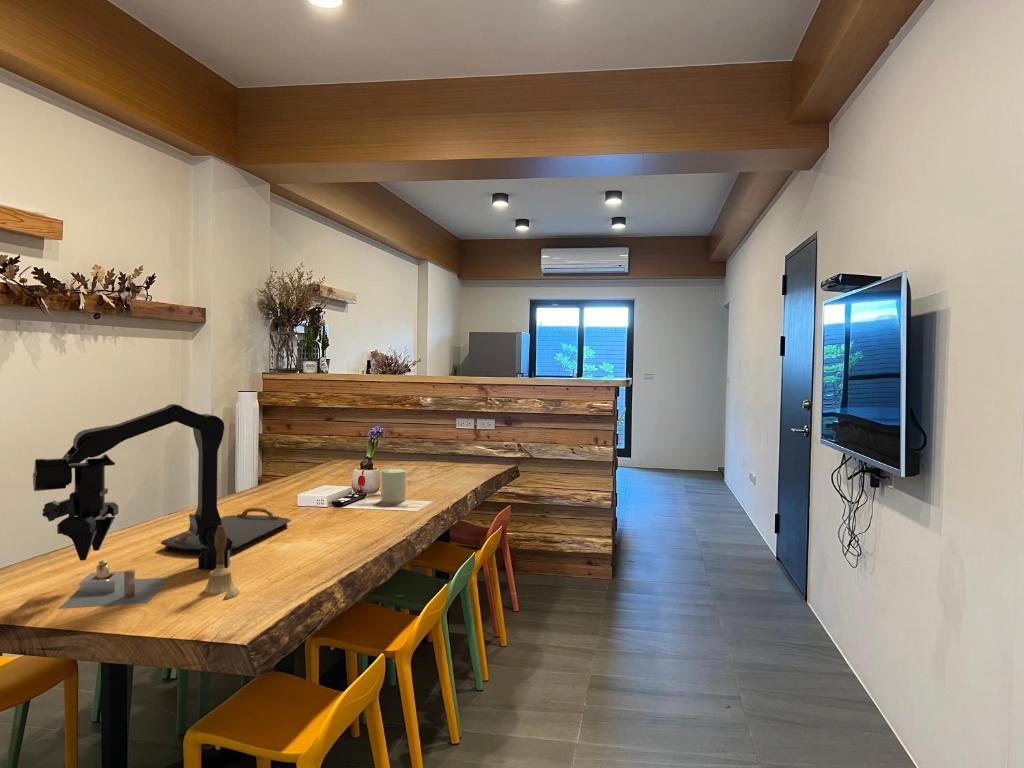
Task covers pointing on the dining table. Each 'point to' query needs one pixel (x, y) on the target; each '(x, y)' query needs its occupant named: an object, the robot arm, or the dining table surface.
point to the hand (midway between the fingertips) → (89, 555)
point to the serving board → (233, 530)
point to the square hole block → (101, 583)
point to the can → (393, 485)
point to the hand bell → (221, 569)
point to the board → (117, 595)
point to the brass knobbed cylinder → (103, 570)
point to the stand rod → (129, 583)
